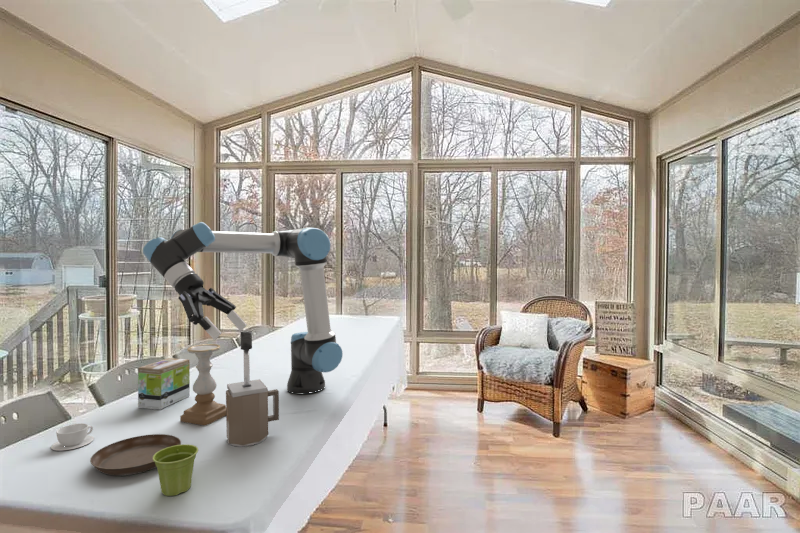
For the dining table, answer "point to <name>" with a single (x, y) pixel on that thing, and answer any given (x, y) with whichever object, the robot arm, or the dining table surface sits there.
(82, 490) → the dining table surface
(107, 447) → the plant saucer
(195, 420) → the candle holder
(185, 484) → the plant pot
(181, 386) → the tea box
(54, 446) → the teacup
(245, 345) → the plunger
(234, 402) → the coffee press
